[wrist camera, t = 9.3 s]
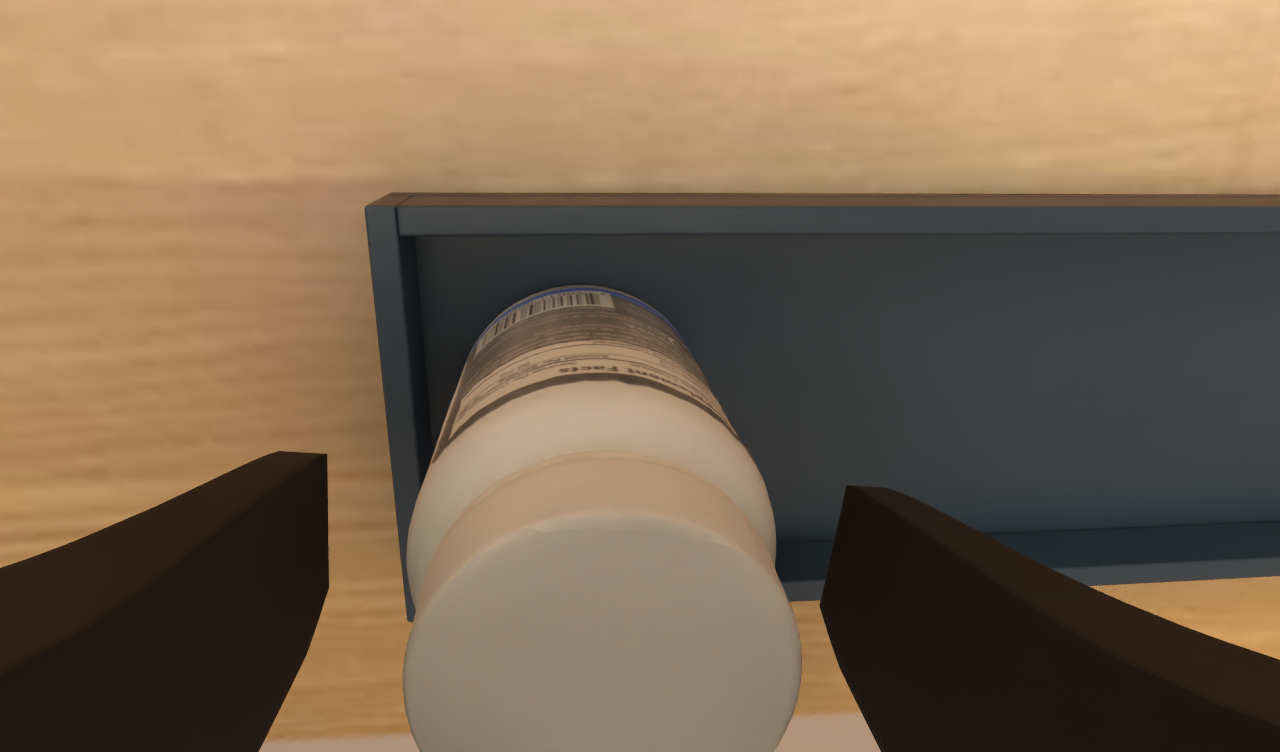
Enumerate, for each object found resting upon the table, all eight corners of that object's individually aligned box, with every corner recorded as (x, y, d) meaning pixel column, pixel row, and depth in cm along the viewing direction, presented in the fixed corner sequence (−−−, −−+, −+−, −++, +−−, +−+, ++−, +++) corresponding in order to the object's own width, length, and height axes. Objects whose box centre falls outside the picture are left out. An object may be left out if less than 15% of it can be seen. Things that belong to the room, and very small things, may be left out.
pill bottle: (646, 526, 17) (728, 909, 9) (430, 462, 16) (301, 829, 8) (734, 327, 15) (926, 562, 7) (505, 242, 14) (444, 411, 6)
